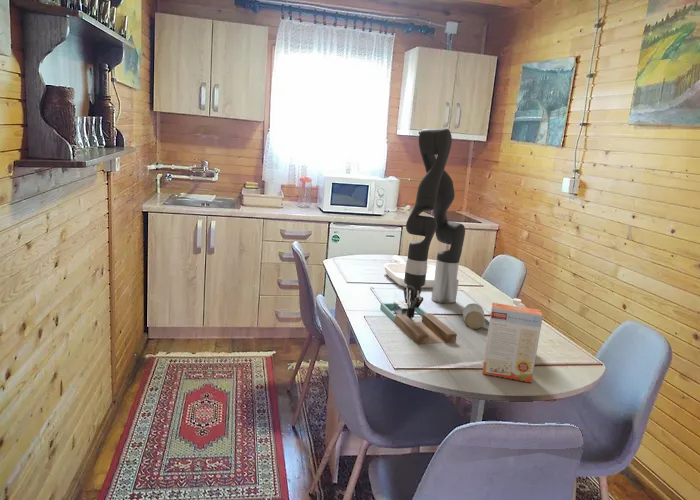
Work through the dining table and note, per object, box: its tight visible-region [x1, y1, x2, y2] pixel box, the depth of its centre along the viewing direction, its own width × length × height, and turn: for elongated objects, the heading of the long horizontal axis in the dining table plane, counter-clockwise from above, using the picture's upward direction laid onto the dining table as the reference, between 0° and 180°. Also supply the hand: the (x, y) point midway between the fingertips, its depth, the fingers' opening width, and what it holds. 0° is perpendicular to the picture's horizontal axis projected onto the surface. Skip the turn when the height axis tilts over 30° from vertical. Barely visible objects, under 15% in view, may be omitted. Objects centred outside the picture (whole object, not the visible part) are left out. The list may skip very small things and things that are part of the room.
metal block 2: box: [396, 305, 409, 318], centre depth 197 cm, size 4×4×4 cm
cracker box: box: [482, 302, 544, 384], centre depth 155 cm, size 14×6×21 cm, turn 75°
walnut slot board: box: [394, 313, 458, 345], centre depth 183 cm, size 14×19×4 cm
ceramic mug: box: [462, 303, 490, 330], centre depth 195 cm, size 11×8×8 cm
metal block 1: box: [392, 300, 407, 314], centre depth 201 cm, size 4×4×4 cm
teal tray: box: [379, 302, 429, 323], centre depth 198 cm, size 14×14×3 cm
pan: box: [383, 255, 436, 289], centre depth 256 cm, size 27×44×5 cm, turn 16°
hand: (410, 316), depth 193 cm, fingers closed
